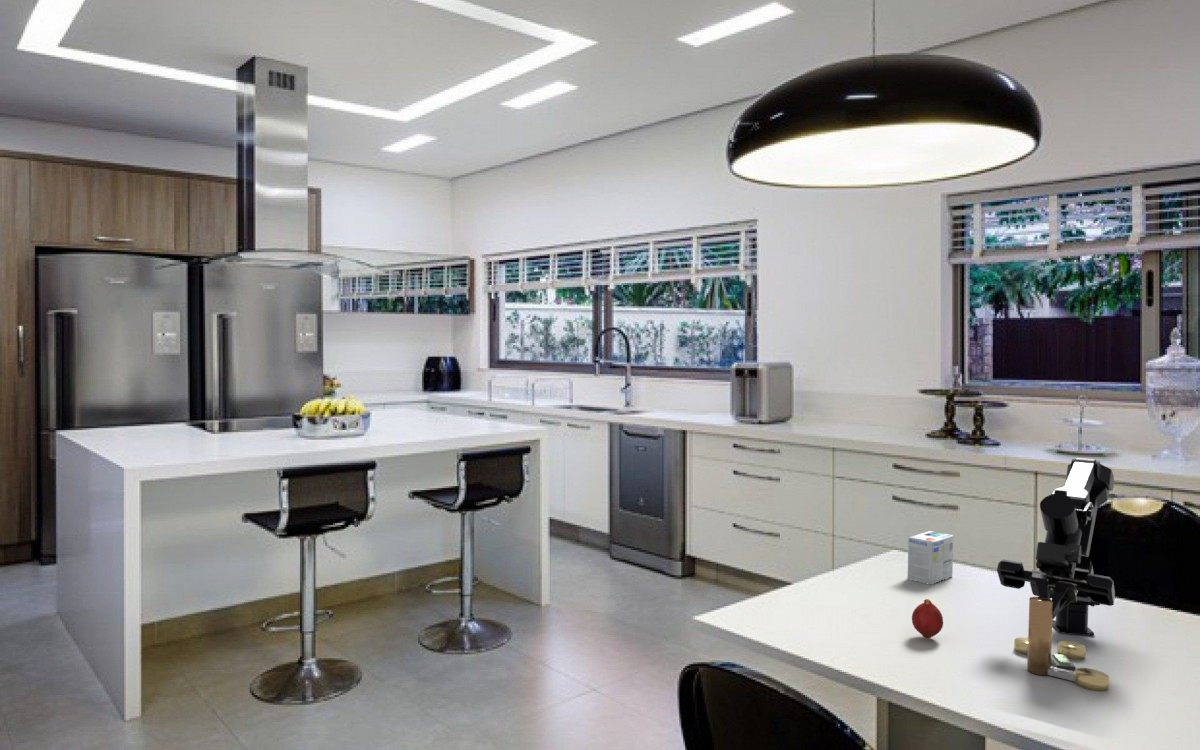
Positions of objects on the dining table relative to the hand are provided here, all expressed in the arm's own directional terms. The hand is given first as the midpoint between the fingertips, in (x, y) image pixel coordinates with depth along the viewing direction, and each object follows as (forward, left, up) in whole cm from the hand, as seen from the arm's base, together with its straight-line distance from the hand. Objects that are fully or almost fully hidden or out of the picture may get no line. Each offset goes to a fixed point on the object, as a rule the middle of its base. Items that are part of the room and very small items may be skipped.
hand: (1046, 621), depth 147 cm
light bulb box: (-54, -10, -9) cm, 56 cm away
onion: (-11, -18, -9) cm, 23 cm away
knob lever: (+7, +1, -7) cm, 10 cm away
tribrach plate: (+2, +2, -9) cm, 9 cm away
